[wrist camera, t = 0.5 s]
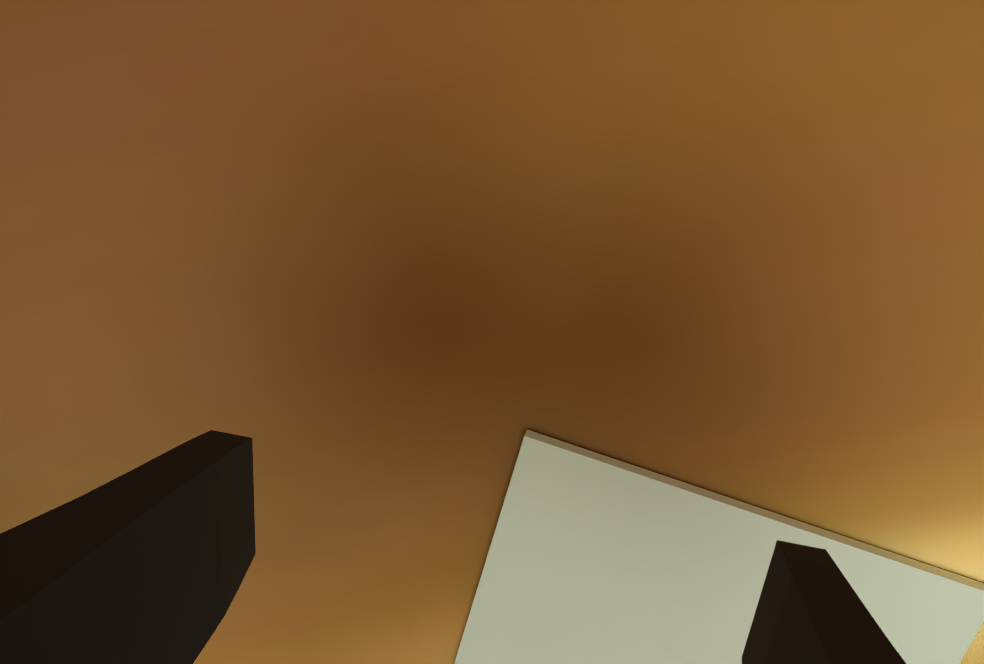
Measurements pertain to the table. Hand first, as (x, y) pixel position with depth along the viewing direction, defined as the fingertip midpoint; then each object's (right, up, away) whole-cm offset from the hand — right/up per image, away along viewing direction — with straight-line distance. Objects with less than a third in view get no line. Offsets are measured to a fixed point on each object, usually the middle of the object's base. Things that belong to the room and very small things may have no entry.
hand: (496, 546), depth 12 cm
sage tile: (+5, -7, +12) cm, 15 cm away
